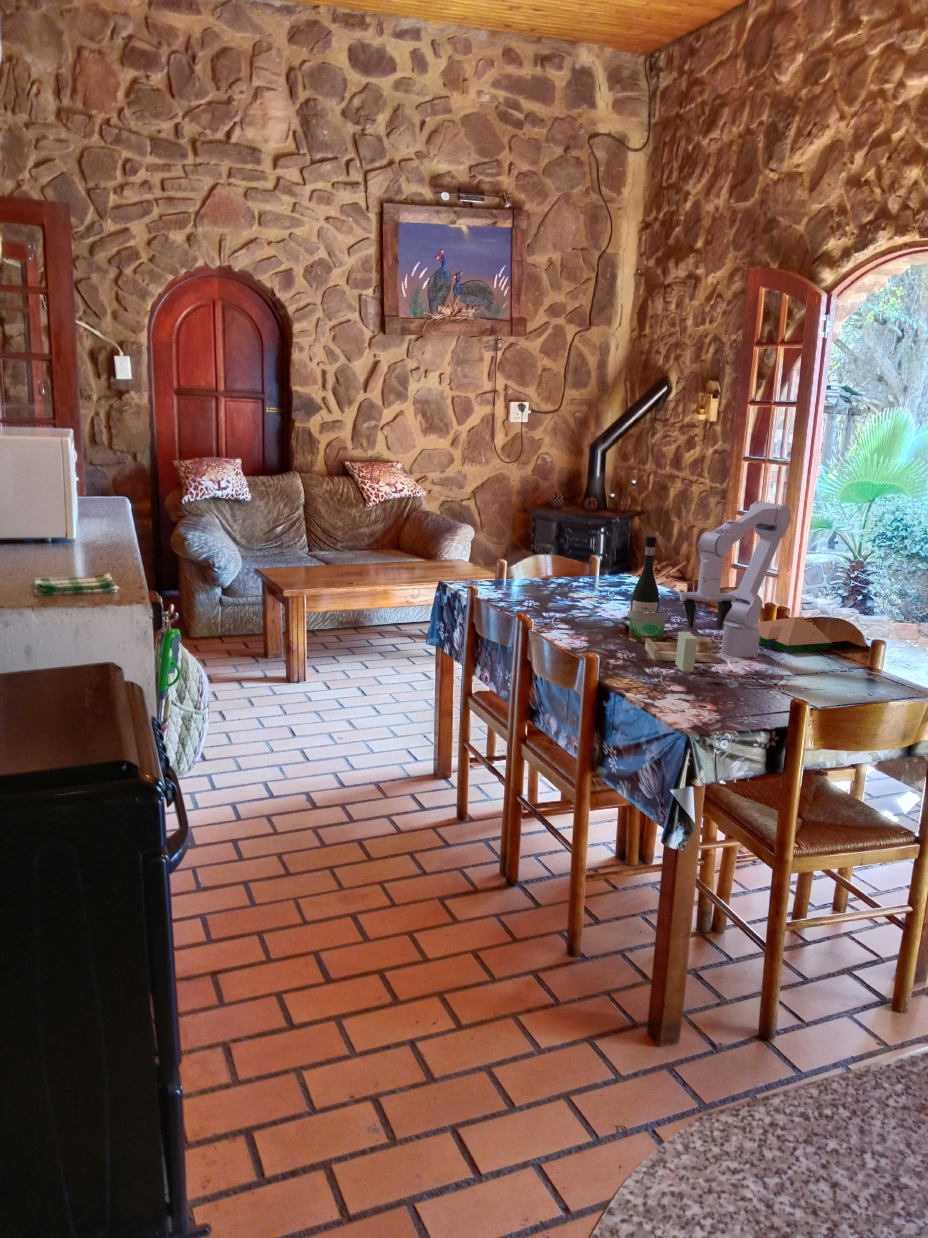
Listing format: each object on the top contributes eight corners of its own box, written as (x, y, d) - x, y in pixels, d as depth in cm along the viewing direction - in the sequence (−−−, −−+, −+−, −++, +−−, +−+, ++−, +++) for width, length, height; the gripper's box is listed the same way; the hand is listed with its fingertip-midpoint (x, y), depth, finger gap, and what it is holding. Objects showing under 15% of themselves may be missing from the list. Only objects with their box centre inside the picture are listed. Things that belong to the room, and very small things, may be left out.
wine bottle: (655, 641, 290) (665, 539, 283) (627, 639, 292) (636, 537, 285) (655, 635, 298) (665, 535, 291) (628, 632, 300) (637, 533, 292)
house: (729, 636, 303) (732, 610, 301) (816, 630, 315) (820, 605, 313) (778, 657, 282) (781, 629, 280) (869, 650, 294) (873, 623, 292)
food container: (633, 648, 282) (636, 614, 279) (624, 643, 288) (627, 609, 285) (673, 647, 285) (676, 613, 283) (663, 642, 291) (666, 608, 288)
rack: (707, 654, 280) (709, 640, 279) (719, 665, 269) (721, 651, 268) (644, 652, 279) (645, 638, 278) (653, 663, 268) (655, 649, 267)
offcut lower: (705, 653, 277) (706, 644, 277) (711, 659, 271) (712, 650, 271) (691, 652, 277) (692, 643, 276) (697, 658, 271) (698, 649, 271)
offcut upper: (706, 644, 276) (707, 637, 276) (711, 649, 271) (712, 642, 271) (693, 644, 276) (694, 636, 275) (698, 649, 271) (699, 641, 270)
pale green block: (686, 664, 266) (689, 632, 264) (693, 672, 259) (697, 639, 257) (675, 664, 266) (678, 631, 263) (682, 672, 259) (685, 638, 257)
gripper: (687, 579, 259) (681, 630, 262) (741, 581, 260) (735, 632, 263) (680, 574, 266) (674, 623, 269) (733, 576, 267) (727, 625, 270)
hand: (704, 627), depth 267 cm, fingers open, 7 cm apart
